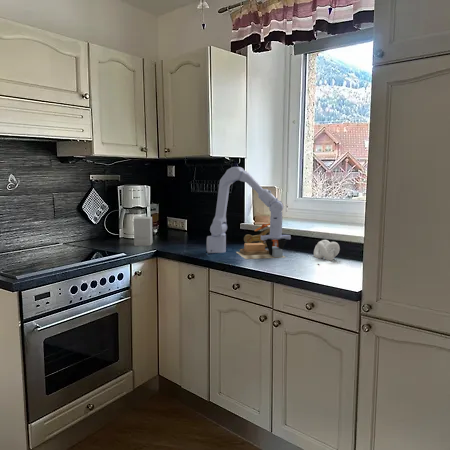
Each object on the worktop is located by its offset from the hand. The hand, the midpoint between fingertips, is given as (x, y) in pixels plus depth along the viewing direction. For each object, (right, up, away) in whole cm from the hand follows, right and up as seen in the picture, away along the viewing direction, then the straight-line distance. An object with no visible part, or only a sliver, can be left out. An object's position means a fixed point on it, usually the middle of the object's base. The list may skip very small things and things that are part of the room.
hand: (275, 254), depth 203 cm
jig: (-7, -1, +1) cm, 7 cm away
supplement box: (-69, +3, +30) cm, 75 cm away
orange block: (-10, 0, +5) cm, 11 cm away
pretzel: (+23, -2, -3) cm, 23 cm away
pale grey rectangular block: (0, 0, 0) cm, 0 cm away
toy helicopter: (-4, +1, +22) cm, 23 cm away
